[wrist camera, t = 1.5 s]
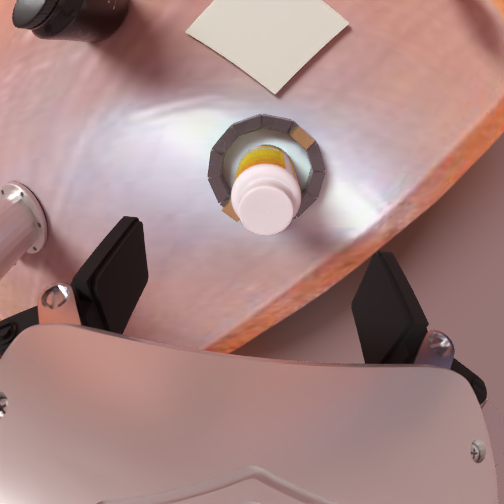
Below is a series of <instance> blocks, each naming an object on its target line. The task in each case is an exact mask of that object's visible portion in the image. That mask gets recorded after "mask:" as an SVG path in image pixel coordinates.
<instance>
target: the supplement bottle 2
mask: <svg viewBox="0 0 504 504" xmlns="http://www.w3.org/2000/svg"><path fill="white" fill-rule="evenodd" d="M231 202H232V206H233V209H234V211H235V213H236V214H237V216H238V217H239V218H240V220H241V222H242V224H243V225H244V226H245V227H246V228H247V229H248V230H249V231H251V232H252V233H255V234H258V235H262V236H270V235H275V234H277V233H280V232H281V231H283V230H284V229H285V228H286V227H287V226H288V225H289V224H290V222H291V220H292V218H293V217H294V216H295V215H296V213H297V212H298V210H299V207H300V203H301V191H300V186H299V183H298V180H297V176H296V173H295V170H294V167H293V164H292V161H291V159H290V157H289V156H288V155H287V153H286V152H284V151H283V150H282V149H280V148H278V147H276V146H273V145H258V146H255V147H253V148H251V149H250V150H249V151H247V152H246V153H245V154H244V156H243V157H242V159H241V161H240V164H239V167H238V170H237V173H236V177H235V180H234V184H233V187H232V192H231Z"/></svg>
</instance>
